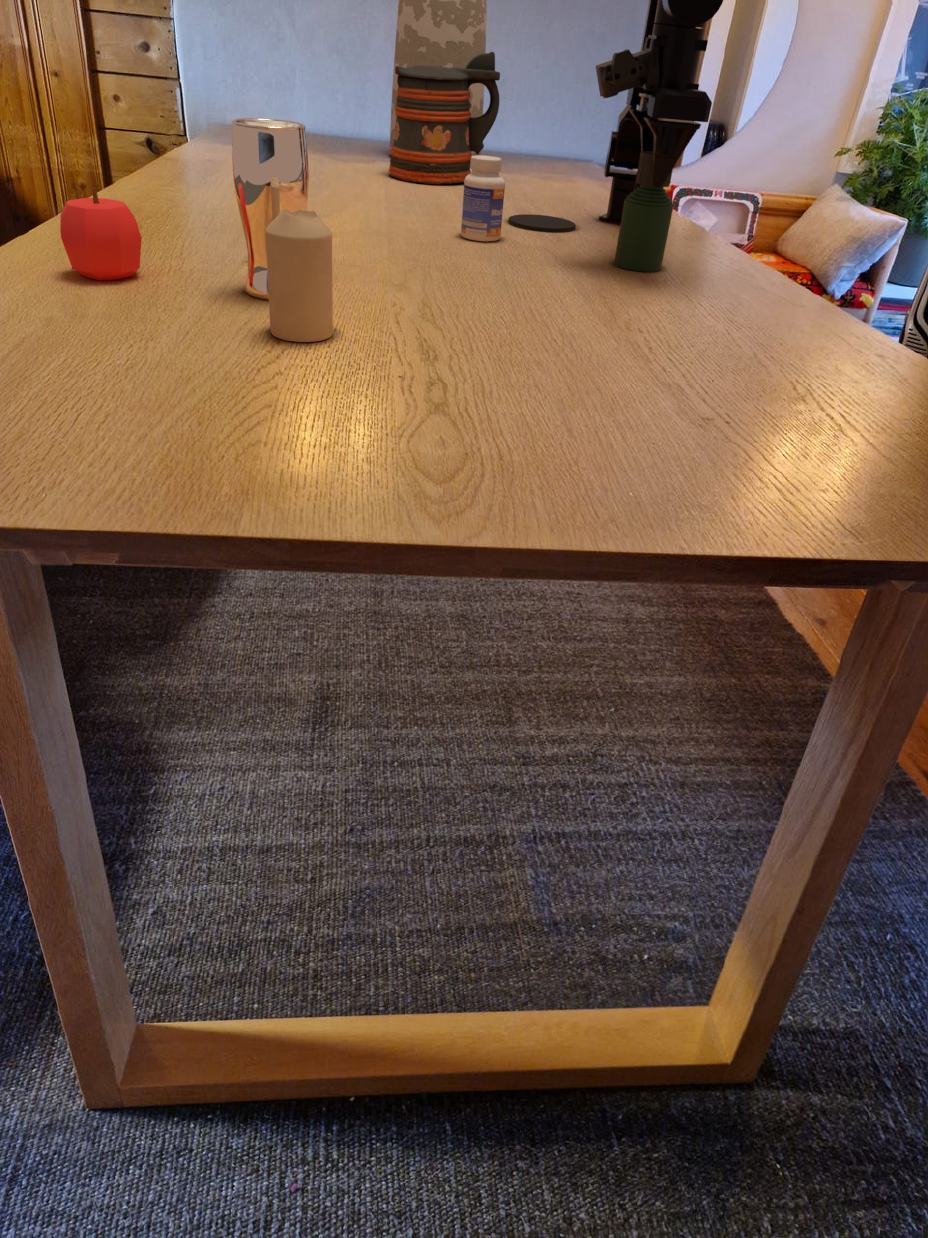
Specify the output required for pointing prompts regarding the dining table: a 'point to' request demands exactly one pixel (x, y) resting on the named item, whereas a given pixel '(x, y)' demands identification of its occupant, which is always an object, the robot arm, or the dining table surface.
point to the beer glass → (267, 184)
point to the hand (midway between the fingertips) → (651, 181)
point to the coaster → (542, 223)
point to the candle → (300, 276)
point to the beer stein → (440, 120)
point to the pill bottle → (483, 200)
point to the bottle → (644, 229)
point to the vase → (440, 41)
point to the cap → (648, 170)
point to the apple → (101, 237)
